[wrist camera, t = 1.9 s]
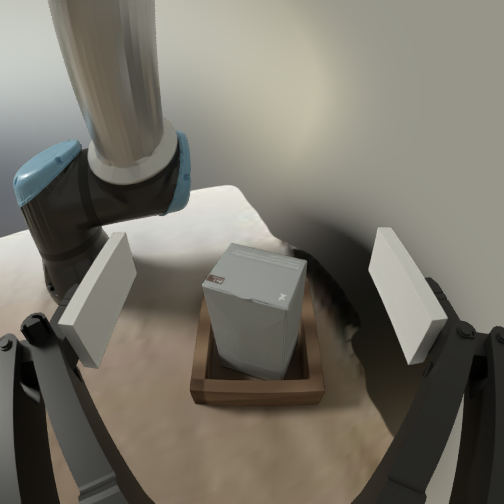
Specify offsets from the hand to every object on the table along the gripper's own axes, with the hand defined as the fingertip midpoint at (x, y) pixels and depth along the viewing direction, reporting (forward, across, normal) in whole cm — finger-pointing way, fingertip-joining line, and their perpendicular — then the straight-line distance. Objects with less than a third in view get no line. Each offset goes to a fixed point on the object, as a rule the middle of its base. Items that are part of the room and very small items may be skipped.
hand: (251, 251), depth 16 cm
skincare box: (+11, 0, -24) cm, 26 cm away
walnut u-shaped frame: (+13, 0, -24) cm, 27 cm away
